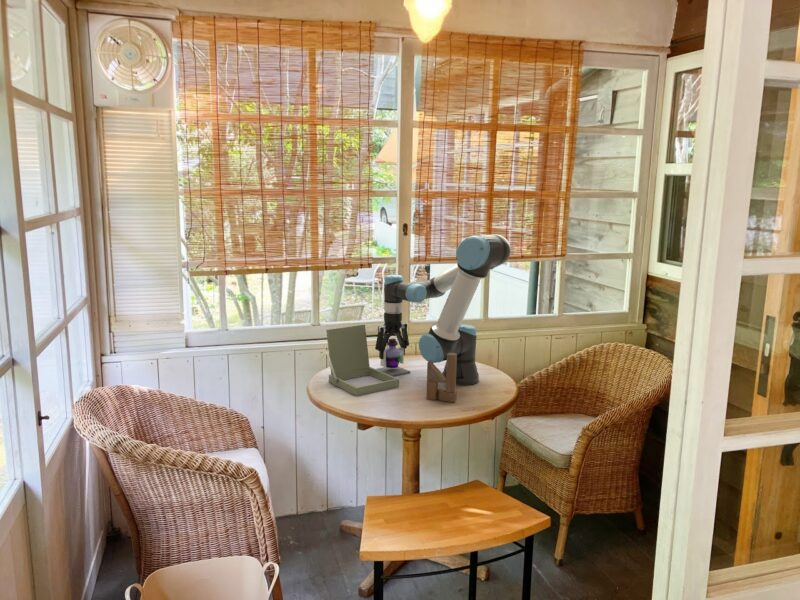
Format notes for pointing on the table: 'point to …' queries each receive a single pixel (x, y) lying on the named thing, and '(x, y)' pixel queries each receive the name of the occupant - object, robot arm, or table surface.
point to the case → (353, 361)
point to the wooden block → (442, 380)
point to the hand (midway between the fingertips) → (392, 364)
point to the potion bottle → (392, 354)
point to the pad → (394, 371)
